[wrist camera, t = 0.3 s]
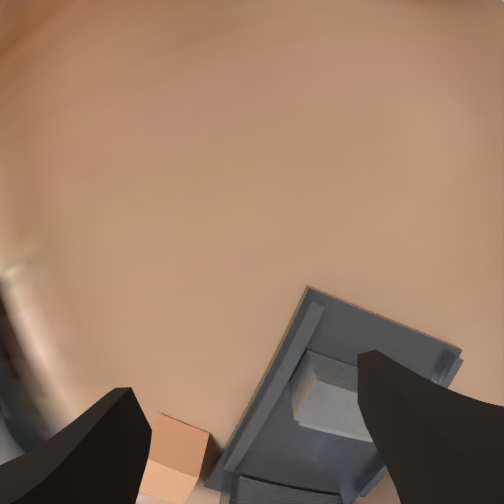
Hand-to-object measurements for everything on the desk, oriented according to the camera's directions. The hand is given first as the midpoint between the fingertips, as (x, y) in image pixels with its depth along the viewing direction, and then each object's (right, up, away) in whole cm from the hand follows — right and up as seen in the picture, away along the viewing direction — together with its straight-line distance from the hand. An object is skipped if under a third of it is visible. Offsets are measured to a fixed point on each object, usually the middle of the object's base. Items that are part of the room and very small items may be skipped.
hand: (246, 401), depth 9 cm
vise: (+6, -8, +11) cm, 15 cm away
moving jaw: (+8, -5, +10) cm, 13 cm away
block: (-6, -10, +11) cm, 16 cm away
